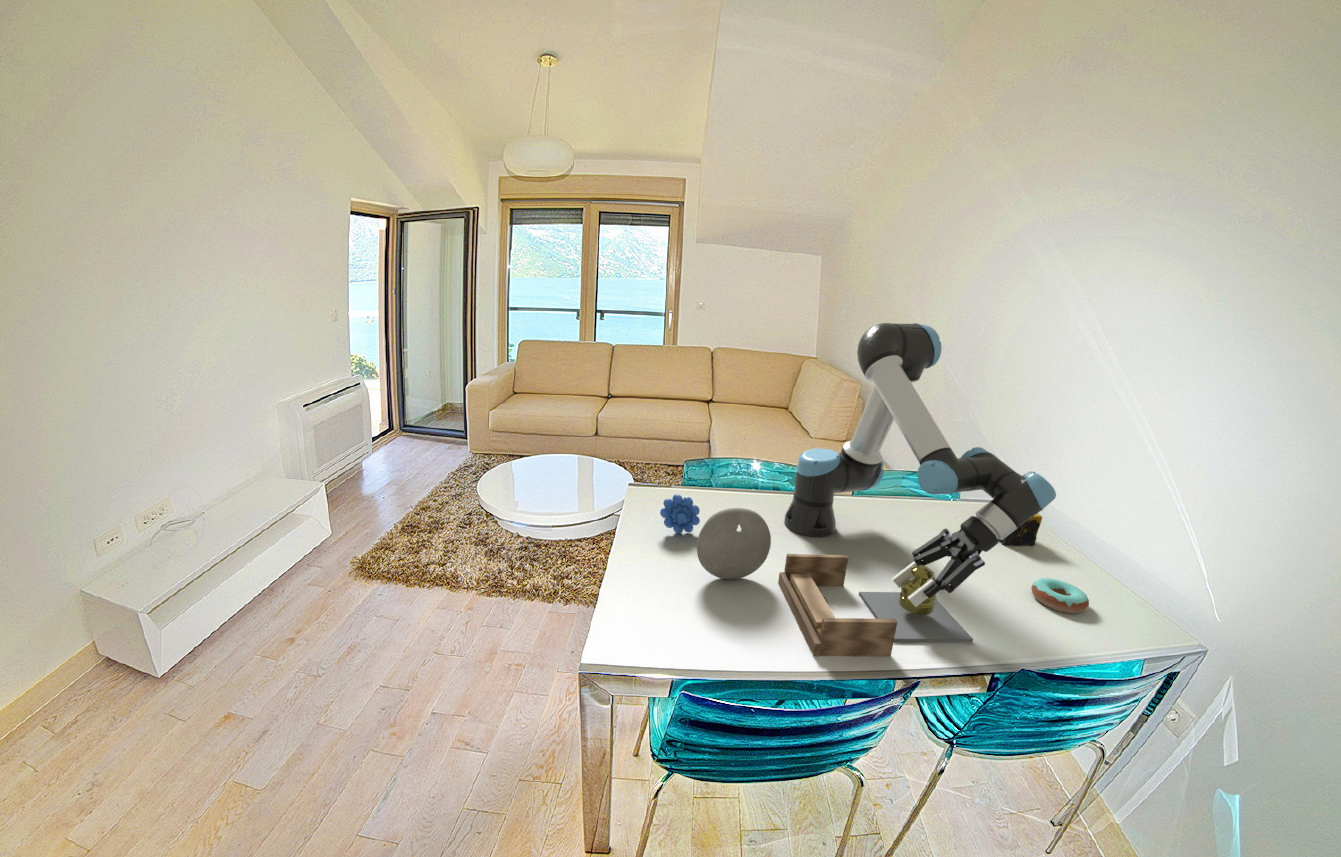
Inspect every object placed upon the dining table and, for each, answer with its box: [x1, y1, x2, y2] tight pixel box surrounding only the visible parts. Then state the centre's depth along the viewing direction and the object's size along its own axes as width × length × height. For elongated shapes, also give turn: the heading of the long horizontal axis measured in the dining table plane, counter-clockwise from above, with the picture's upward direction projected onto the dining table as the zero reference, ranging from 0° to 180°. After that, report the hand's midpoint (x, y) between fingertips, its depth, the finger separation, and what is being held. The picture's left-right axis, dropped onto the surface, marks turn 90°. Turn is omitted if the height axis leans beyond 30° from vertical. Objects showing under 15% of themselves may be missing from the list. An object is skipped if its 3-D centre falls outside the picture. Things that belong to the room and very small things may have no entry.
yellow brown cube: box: [998, 513, 1043, 547], centre depth 174 cm, size 10×10×10 cm
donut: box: [1030, 577, 1090, 614], centre depth 141 cm, size 12×12×4 cm
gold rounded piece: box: [899, 565, 938, 615], centre depth 129 cm, size 7×7×10 cm
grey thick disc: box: [696, 507, 772, 580], centre depth 140 cm, size 18×7×19 cm, turn 100°
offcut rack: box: [777, 553, 897, 657], centre depth 128 cm, size 16×27×8 cm, turn 5°
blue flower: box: [659, 493, 701, 534], centre depth 162 cm, size 12×7×12 cm, turn 100°
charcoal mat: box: [858, 591, 974, 643], centre depth 131 cm, size 18×18×1 cm
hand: (903, 592), depth 129 cm, fingers closed on gold rounded piece, 7 cm apart
